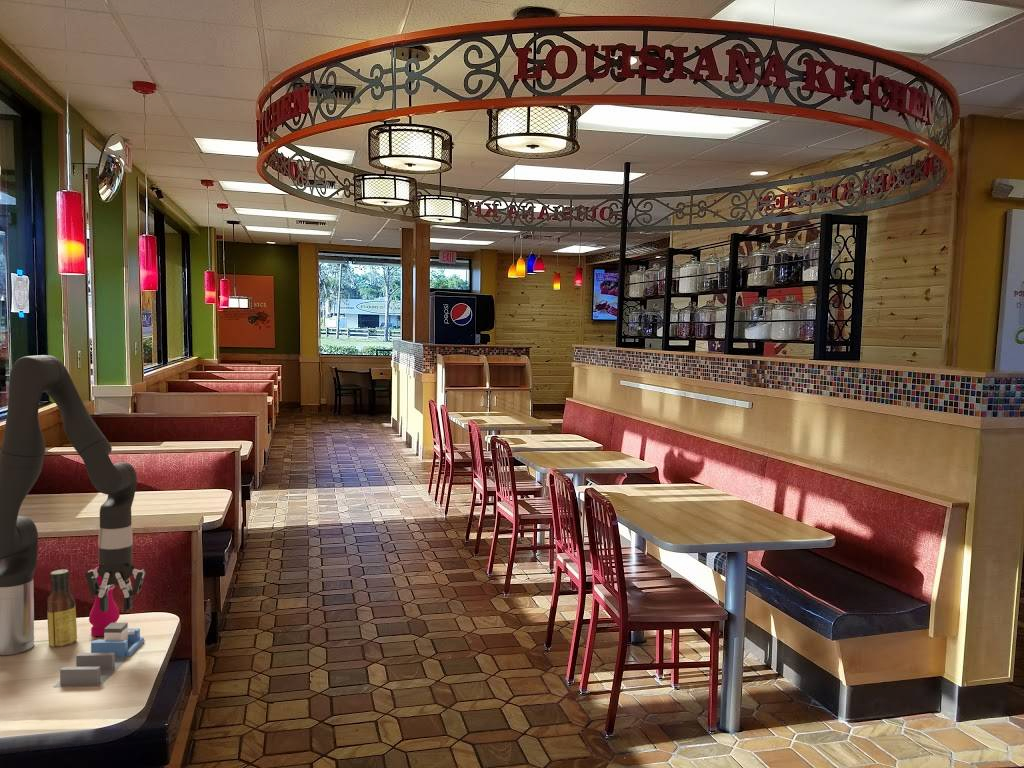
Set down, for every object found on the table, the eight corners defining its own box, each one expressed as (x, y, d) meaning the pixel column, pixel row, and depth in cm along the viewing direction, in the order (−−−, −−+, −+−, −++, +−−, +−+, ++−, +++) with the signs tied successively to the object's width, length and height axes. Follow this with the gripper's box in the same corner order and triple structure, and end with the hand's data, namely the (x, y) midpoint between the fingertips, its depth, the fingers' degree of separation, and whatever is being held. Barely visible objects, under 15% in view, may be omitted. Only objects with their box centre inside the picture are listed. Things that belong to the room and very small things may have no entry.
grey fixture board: (53, 693, 170) (53, 671, 169) (105, 646, 196) (104, 627, 195) (100, 692, 171) (100, 671, 170) (145, 645, 197) (145, 626, 196)
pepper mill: (85, 639, 200) (85, 564, 199) (92, 628, 207) (92, 556, 205) (116, 636, 202) (116, 562, 201) (122, 626, 209) (121, 554, 207)
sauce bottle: (82, 644, 197) (82, 568, 195) (66, 654, 190) (65, 576, 189) (58, 642, 197) (58, 567, 196) (41, 652, 191) (40, 574, 190)
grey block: (104, 652, 188) (104, 628, 188) (111, 645, 192) (111, 622, 192) (121, 652, 189) (121, 628, 188) (127, 645, 193) (127, 622, 192)
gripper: (151, 539, 193) (151, 605, 194) (92, 539, 192) (92, 605, 193) (139, 548, 186) (139, 616, 187) (78, 547, 184) (78, 616, 186)
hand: (115, 610), depth 190 cm, fingers open, 4 cm apart
